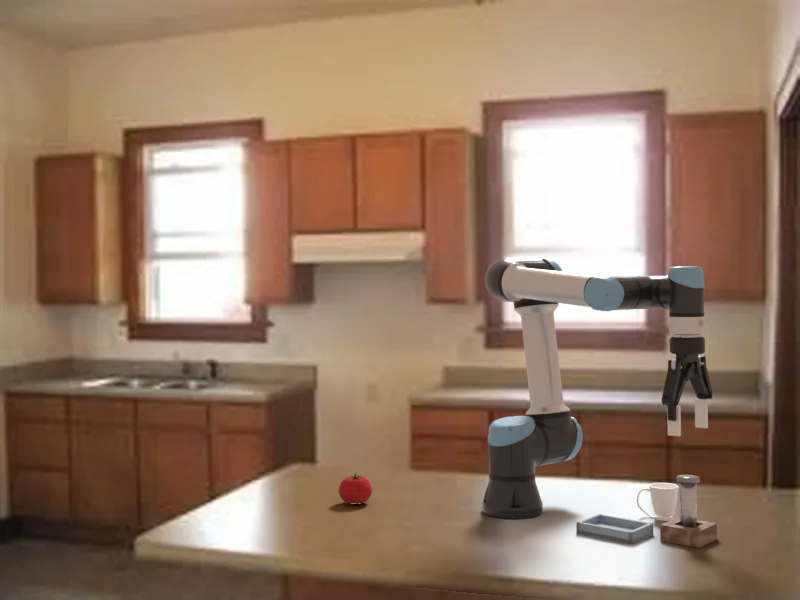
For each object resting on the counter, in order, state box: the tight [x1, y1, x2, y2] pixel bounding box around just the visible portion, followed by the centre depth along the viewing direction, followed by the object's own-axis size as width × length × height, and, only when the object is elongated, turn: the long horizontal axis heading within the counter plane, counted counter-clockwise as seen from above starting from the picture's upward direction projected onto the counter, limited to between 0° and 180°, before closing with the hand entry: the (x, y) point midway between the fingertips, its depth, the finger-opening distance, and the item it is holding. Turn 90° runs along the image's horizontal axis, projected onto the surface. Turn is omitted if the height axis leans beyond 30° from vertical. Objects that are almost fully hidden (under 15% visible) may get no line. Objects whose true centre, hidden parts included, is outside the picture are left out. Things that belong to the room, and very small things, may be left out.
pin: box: [676, 474, 700, 528], centre depth 205 cm, size 5×5×14 cm
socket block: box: [659, 516, 718, 549], centre depth 205 cm, size 9×9×4 cm
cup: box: [636, 482, 680, 522], centre depth 224 cm, size 7×10×8 cm
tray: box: [575, 513, 654, 545], centre depth 211 cm, size 14×10×2 cm
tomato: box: [338, 473, 373, 504], centre depth 244 cm, size 9×9×8 cm
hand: (688, 431), depth 205 cm, fingers open, 13 cm apart
